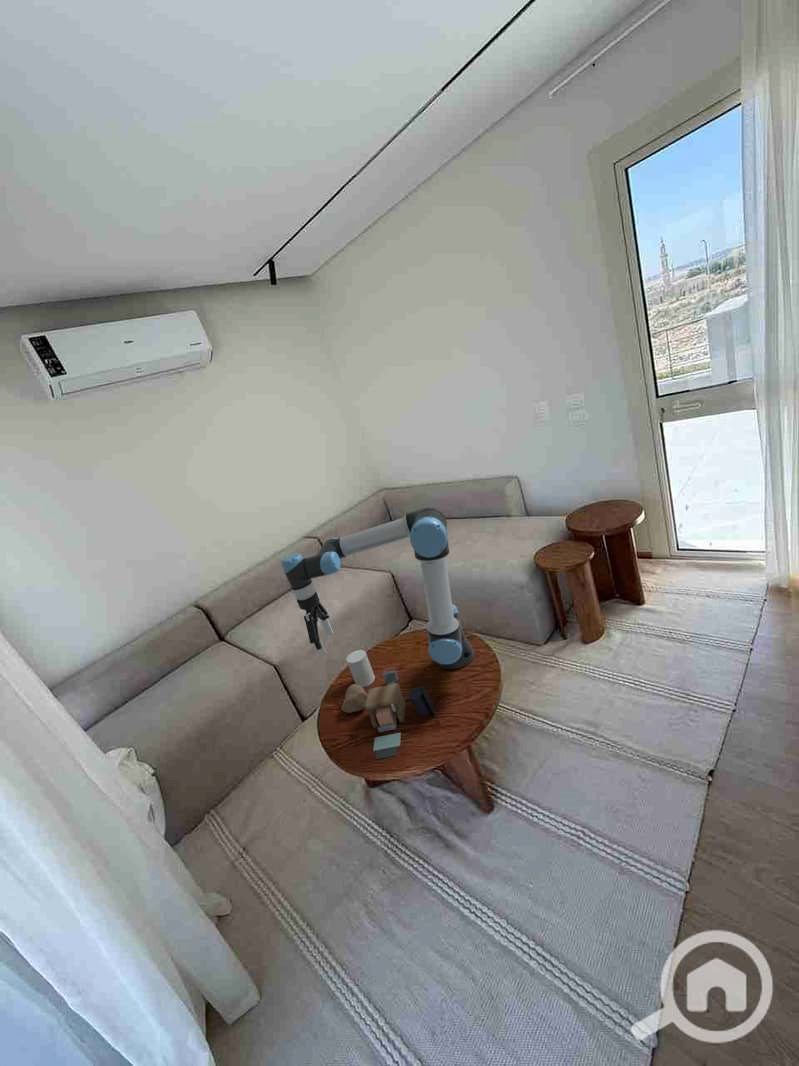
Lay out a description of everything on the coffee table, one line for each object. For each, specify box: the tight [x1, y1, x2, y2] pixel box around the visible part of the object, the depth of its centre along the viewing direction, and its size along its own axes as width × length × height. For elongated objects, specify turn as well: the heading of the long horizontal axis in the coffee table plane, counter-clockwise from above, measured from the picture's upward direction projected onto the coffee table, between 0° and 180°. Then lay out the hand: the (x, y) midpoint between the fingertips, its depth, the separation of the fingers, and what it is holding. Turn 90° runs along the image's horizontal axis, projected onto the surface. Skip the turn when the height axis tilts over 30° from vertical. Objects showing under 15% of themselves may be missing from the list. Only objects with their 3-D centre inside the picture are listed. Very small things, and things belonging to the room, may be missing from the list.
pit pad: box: [374, 747, 398, 760], centre depth 139 cm, size 7×3×1 cm, turn 87°
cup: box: [345, 649, 376, 688], centre depth 177 cm, size 8×8×12 cm
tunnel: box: [365, 682, 406, 728], centre depth 154 cm, size 11×9×9 cm
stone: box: [341, 683, 368, 714], centre depth 165 cm, size 12×9×10 cm
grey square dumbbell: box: [377, 669, 399, 733], centre depth 159 cm, size 6×26×5 cm, turn 177°
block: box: [376, 705, 394, 726], centre depth 150 cm, size 5×5×5 cm
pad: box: [372, 732, 402, 752], centre depth 144 cm, size 9×6×1 cm, turn 87°
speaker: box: [408, 683, 437, 717], centre depth 150 cm, size 8×6×10 cm
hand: (326, 644), depth 164 cm, fingers open, 13 cm apart
